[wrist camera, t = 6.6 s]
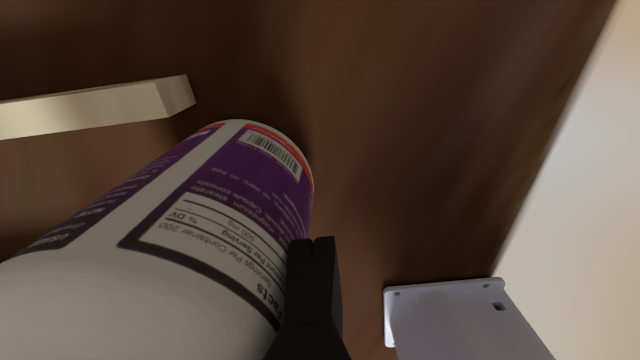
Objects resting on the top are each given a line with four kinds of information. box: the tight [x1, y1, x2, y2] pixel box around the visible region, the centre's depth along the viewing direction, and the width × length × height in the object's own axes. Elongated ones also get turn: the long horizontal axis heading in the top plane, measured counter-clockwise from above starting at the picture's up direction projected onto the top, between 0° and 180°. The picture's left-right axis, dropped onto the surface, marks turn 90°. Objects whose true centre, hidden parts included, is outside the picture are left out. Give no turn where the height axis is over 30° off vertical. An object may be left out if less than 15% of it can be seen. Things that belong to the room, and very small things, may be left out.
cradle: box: [0, 74, 196, 140], centre depth 16 cm, size 22×13×3 cm, turn 97°
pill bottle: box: [0, 119, 314, 360], centre depth 10 cm, size 8×8×14 cm
